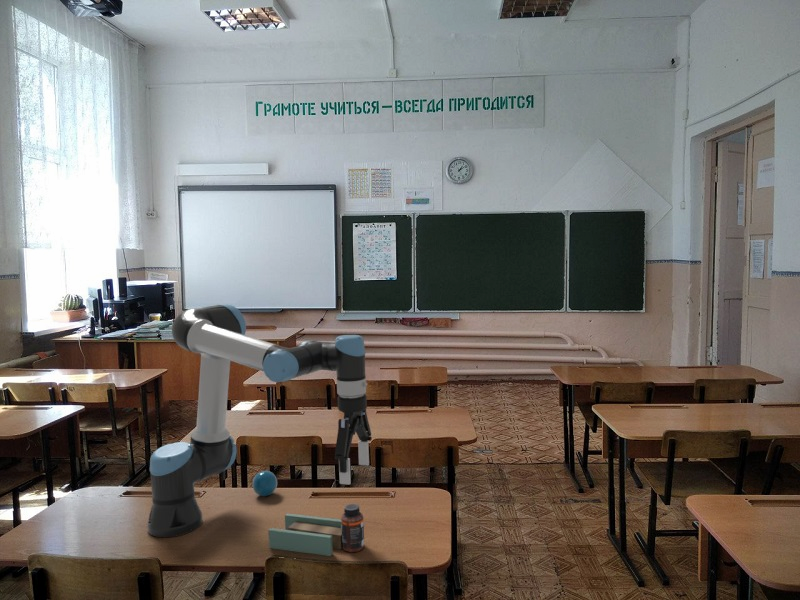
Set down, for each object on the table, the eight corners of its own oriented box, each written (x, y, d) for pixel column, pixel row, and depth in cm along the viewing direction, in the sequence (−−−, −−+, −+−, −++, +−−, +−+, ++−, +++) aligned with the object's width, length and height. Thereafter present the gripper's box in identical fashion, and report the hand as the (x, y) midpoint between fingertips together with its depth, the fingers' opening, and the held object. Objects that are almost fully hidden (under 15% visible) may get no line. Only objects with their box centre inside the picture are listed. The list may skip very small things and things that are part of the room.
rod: (288, 541, 165) (287, 527, 165) (295, 535, 169) (295, 521, 168) (340, 549, 160) (340, 535, 159) (347, 543, 163) (346, 528, 163)
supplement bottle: (369, 547, 160) (367, 506, 159) (351, 555, 156) (350, 513, 155) (355, 540, 164) (353, 500, 163) (337, 547, 160) (336, 507, 159)
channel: (269, 547, 161) (268, 530, 161) (287, 530, 171) (286, 513, 171) (330, 556, 156) (330, 537, 155) (345, 537, 166) (345, 520, 165)
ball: (281, 491, 199) (280, 467, 199) (271, 501, 192) (270, 476, 191) (259, 489, 201) (258, 466, 201) (248, 499, 193) (247, 475, 193)
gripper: (347, 407, 143) (350, 493, 144) (381, 384, 166) (383, 458, 168) (318, 406, 145) (322, 491, 147) (355, 383, 169) (358, 456, 170)
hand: (354, 474), depth 157 cm, fingers open, 13 cm apart
